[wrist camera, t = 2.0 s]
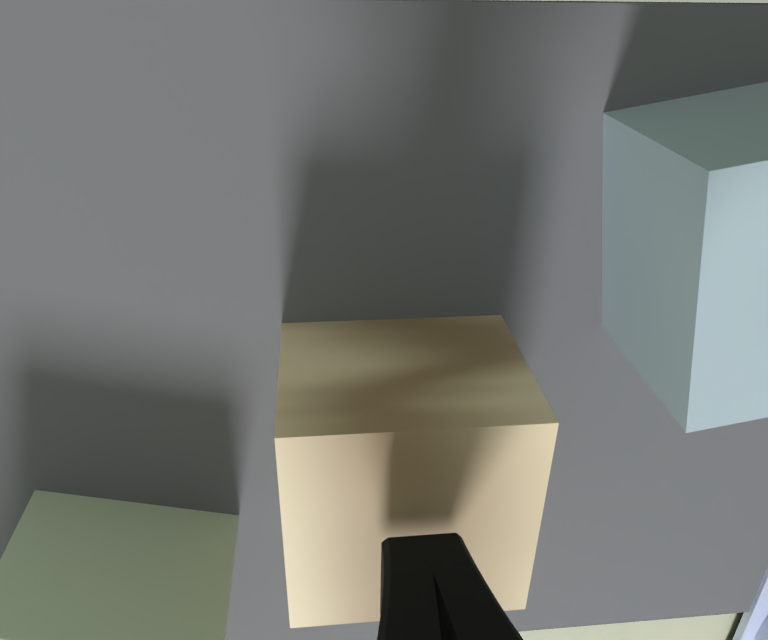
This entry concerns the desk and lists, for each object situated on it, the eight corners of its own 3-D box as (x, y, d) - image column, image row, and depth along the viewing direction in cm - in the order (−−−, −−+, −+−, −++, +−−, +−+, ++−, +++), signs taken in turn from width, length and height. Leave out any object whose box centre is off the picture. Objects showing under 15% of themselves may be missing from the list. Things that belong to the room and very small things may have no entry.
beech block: (501, 314, 15) (559, 423, 12) (481, 479, 18) (525, 609, 14) (281, 323, 15) (274, 438, 11) (292, 491, 17) (290, 628, 14)
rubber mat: (989, 5, 13) (1007, 7, 13) (741, 601, 22) (748, 612, 22) (-319, -9, 11) (-339, -8, 11) (-18, 664, 20) (-23, 677, 19)
